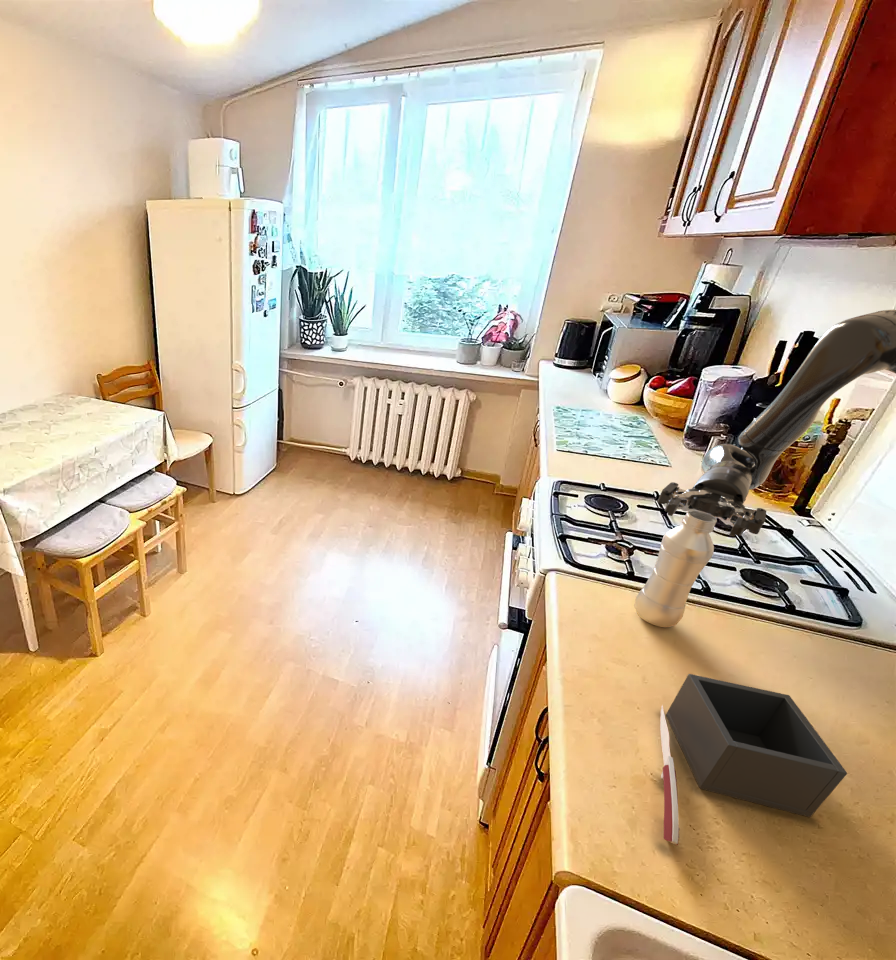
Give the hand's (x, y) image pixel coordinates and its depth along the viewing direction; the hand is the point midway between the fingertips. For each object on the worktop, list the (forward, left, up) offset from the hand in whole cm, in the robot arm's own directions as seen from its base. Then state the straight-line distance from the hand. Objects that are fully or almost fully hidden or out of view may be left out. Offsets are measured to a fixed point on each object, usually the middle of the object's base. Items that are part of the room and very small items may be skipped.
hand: (702, 520), depth 87 cm
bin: (+5, +37, -15) cm, 40 cm away
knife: (+14, +41, -15) cm, 46 cm away
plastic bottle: (+5, +10, -15) cm, 19 cm away
